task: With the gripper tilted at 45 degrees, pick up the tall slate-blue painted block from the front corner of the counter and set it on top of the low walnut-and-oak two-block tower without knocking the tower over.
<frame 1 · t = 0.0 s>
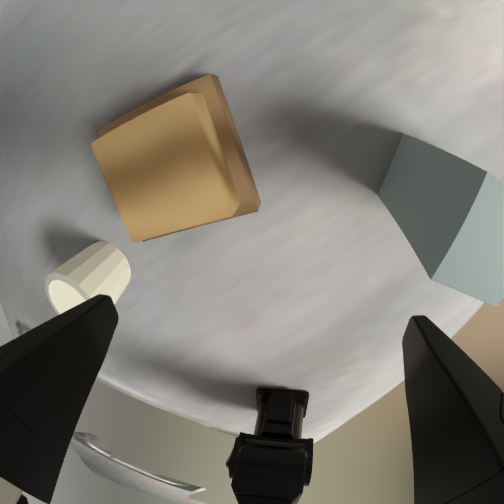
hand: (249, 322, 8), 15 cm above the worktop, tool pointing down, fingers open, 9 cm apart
tower top: (170, 166, 19), point 2 cm above the worktop, touching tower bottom
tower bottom: (182, 158, 22), on the worktop, touching tower top
shot glass: (109, 264, 28), on the worktop
tall block: (418, 177, 18), on the worktop
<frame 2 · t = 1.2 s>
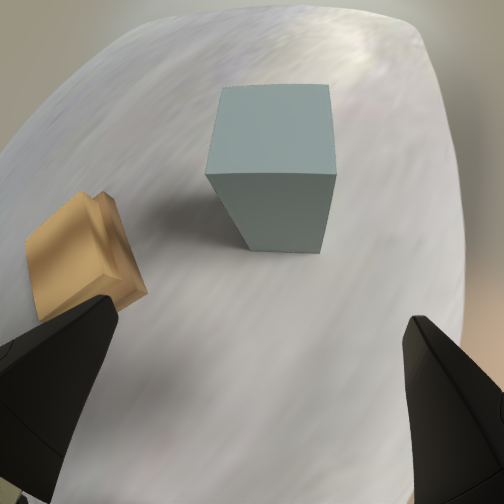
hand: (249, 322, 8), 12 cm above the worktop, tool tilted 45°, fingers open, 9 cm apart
tower top: (75, 262, 22), point 2 cm above the worktop, touching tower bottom
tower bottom: (92, 271, 24), on the worktop, touching tower top
tall block: (286, 219, 22), on the worktop
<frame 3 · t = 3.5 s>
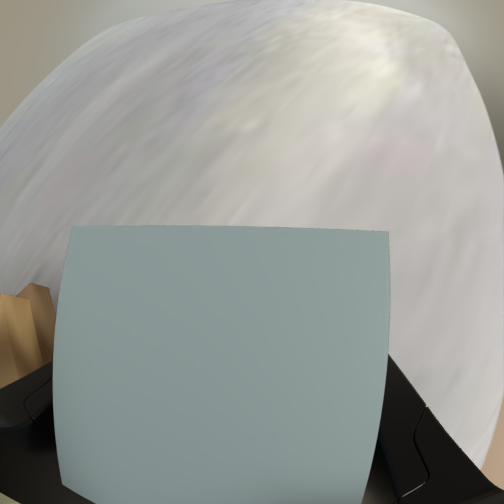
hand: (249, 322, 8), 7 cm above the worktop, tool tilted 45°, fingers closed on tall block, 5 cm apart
tower top: (15, 371, 14), point 2 cm above the worktop
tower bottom: (36, 374, 16), on the worktop
tall block: (269, 354, 14), on the worktop, touching gripper
when the fingers open (13 cm above the worktop, at t = 8.8 s): tall block drops 2 cm, resting on tower top.
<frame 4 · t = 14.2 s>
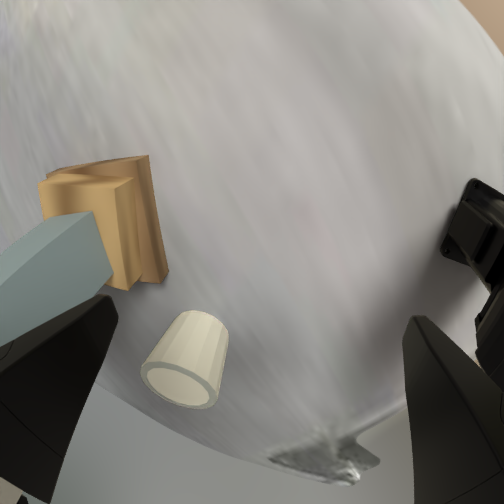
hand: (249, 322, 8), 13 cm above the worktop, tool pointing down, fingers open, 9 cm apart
tower top: (97, 222, 21), point 2 cm above the worktop, touching tall block, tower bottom
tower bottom: (113, 214, 23), on the worktop, touching tower top
shot glass: (201, 330, 28), on the worktop
tall block: (79, 244, 19), point 4 cm above the worktop, touching tower top
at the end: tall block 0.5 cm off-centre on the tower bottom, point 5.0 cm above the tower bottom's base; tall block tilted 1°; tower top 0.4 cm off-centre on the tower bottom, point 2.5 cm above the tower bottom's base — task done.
